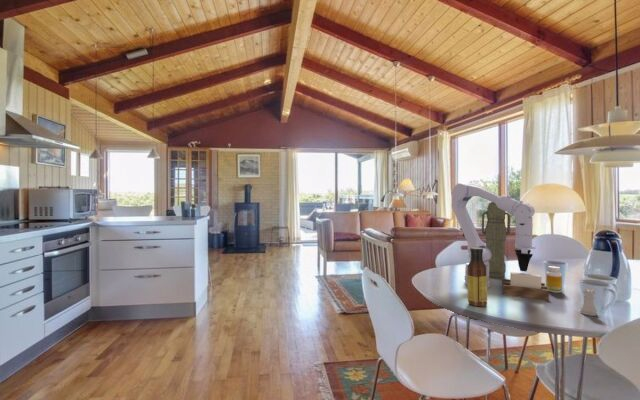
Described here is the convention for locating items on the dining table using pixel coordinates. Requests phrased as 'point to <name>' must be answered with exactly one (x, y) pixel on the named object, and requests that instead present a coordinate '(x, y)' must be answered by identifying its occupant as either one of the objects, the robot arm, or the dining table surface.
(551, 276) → the supplement bottle
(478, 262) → the sauce bottle
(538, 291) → the rack
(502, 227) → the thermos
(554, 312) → the dining table surface
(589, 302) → the rook chess piece
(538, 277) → the beige rectangular block
